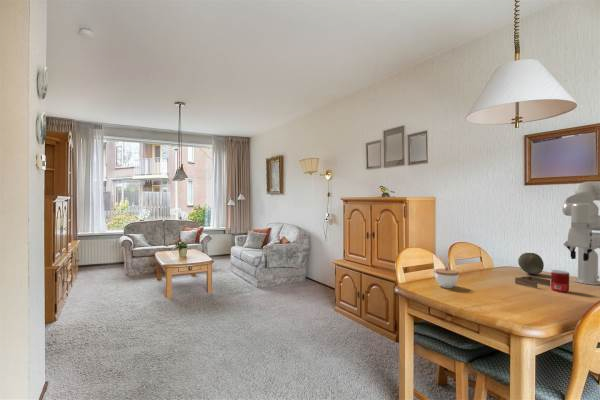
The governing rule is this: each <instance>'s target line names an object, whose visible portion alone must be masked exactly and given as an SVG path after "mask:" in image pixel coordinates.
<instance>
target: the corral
mask: <svg viewBox="0 0 600 400" xmlns="http://www.w3.org/2000/svg"><path fill="white" fill-rule="evenodd" d="M514 279H515V283H514V284H516V285H520V286H525V287H528V288H533V289H538V284H539V285H543V286H548V287H551V279H546V278H541V277H538V276H537V277H536V276H534V275H525V276H518V277H515V278H514Z"/></svg>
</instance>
